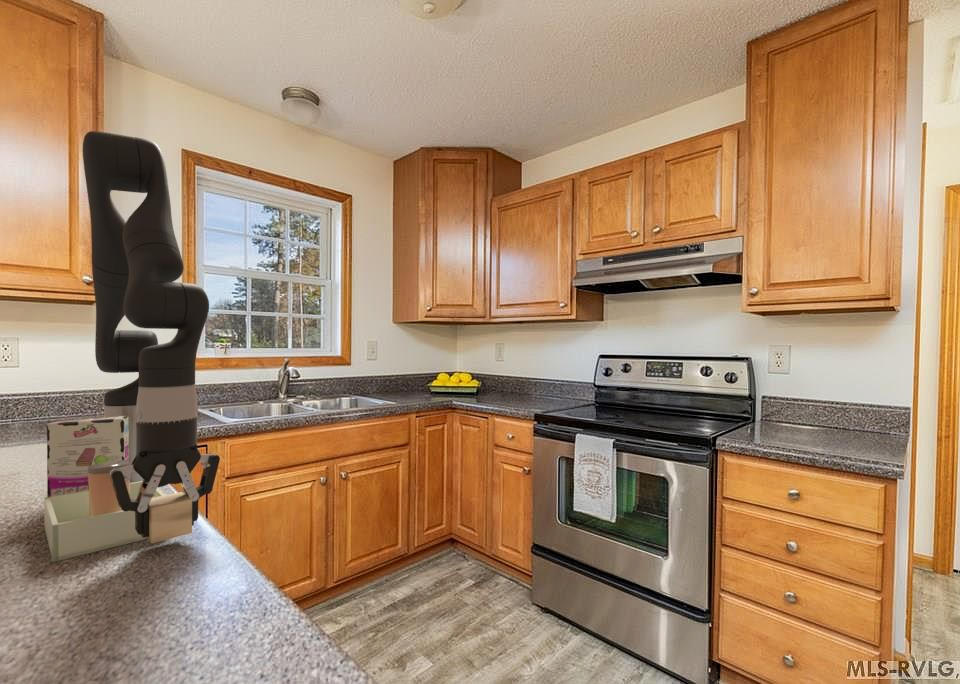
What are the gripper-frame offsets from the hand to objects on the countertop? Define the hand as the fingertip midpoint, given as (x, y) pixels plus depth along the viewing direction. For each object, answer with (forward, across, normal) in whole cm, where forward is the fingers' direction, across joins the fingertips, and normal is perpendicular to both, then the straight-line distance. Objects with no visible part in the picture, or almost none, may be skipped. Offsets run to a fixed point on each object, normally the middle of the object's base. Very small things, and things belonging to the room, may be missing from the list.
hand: (167, 529), depth 69 cm
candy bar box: (+3, +6, -30) cm, 31 cm away
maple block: (0, 0, 0) cm, 0 cm away
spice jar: (+2, +5, -11) cm, 12 cm away
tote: (+3, +5, -14) cm, 15 cm away
